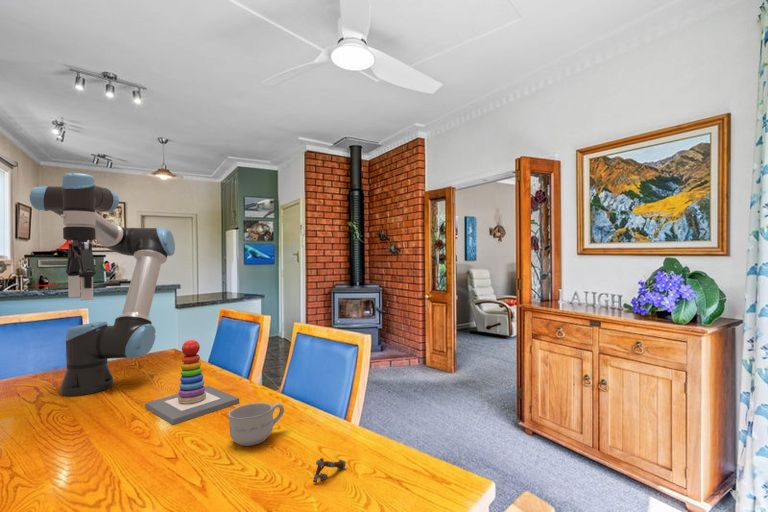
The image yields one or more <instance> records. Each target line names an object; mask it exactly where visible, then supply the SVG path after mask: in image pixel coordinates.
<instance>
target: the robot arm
mask: <svg viewBox="0 0 768 512" xmlns="http://www.w3.org/2000/svg"><path fill="white" fill-rule="evenodd" d="M61 184H62V185H61V186H53V185H52V186H50V185H44V186H36V187H33V188H32V189H31V191H30V194H29V202H30V204H31V207H33V208H34V209H35V210H37V211H45V212H49V211H50V212H53V213H55V214H56V215H58V216H59V217H60V218H62V220H63V221H62V224H63V225H64V227H63V228H62V237H63V240H65V241H66V240H67V241H72V242H71V243H68V244H67V246H68V252H67V259H66V260H67V261H66V262H67V263H66V270H65V273H66V275H67V277H68V278H67V282H68V283H67V284H68V286H67V287H68V289H67V290H68V293H67V294H68V298H69V299H70V298H78V297H79V298H80V301H90V300H91V301H93V300H94V276H95V275H96V273H97V272H96V267H95V266H96V265H95V261H94V254H93V247H92V246H93V244H92V242H91V241H95V240H96V242H97V243H98V244H99V245H100V246H103V247H104V248H106V249H107V250H110V251H112V252H115V253H117V254H120V255H123V256H129V257H133V258H134V259H135V260H136V261H135V266H134V269H133V273H132V277H131V279H130V283H129V287H128V291H127V294H126V298H125V301H124V304H123V308H122V312H121V315H119V316H117V317H116V318H115V320H114V324H113V325H109V324H108V322H107V321H103V320H102V321H96V322H90V323H85V324H80V325H76V326H72V327H70V328H68V329H67V330H66V335H65V341H64V342H65V352H66V353H65V354H66V355H65V357H66V359H65V360H66V364H65V365H66V370H65V374H64V376H63V379H62V382H61V384H60V388H59V394H60V395H61V396H63V397H65V396H66V397H76V396H78V397H79V396H85V395H90V394H95V393H99V392H102V391H106V390H108V389H110V388H112V387H113V386H114V384H115V383H114V375H113V374H112V372H111V369H110V366H109V364H108V359H112V360H113V359H135V358H142V357H144V356H146V355H147V354H149V353H150V352H151V350H152V349H153V346H154V344H155V342H156V329H155V328H156V327H155V326H154V325H153V324H152V323H153V322H152V320H151V319H150V318H149V315H150V313H151V308H152V304H153V300H154V296H155V291H156V287H157V283H158V279H159V274H160V271H161V265H162V264H164V263H166V262H167V258H168V257H171V256H174V254H175V251H176V243H175V238H174V235H173V233H172V232H171V230H170V229H168V228H167V227H158V226H157V227H125V226H120V225H119V224H116V223H112V222H110V221H109V220H107V219H106V218H105V217H103V216H101V215H100V214H99V213H98V212H101V213H104V212H105V213H109V212H113V211H114V210H116V209H117V208H118V207H119V204H120V199H119V196H118V193H116V192H115V191H114V190H111V189H109V188H107V187H102V186H97V185H96V180H95V178H94V176H93V175H91V174H87V173H78V172H68V173H67V172H66V173H64V174H63V176H62V183H61ZM96 211H97V212H96ZM89 241H90V242H89Z"/></svg>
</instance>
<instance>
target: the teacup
mask: <svg viewBox="0 0 768 512" xmlns="http://www.w3.org/2000/svg"><path fill="white" fill-rule="evenodd" d="M277 408H279V412H278V413H277V415H276V416H275V417H274V413H275V412H274V411H275V410H276V409H277ZM284 413H285V408H284V405H283V404H282V403H280V402H276V403H274V404H271V403H269V402H268V403H267V402H252V403H247V404H242V405H240V406H237V407H235V408H232V409H231V410H229V412H228V414H227V416H228V424H229V425H228V426H229V436H230V439H231V440H232V442H235V443H237V444H238V445H239V446H243V447H249V446H250V447H252V446H255V445H258V444H261V443H263V442H265V440H266V439H267V438H268V437H269V436H270V435H271V433H272V432H273V428H274V426H275V424H277V422H279V420H281V418H282V417H283V416H284Z"/></svg>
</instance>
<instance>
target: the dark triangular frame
mask: <svg viewBox="0 0 768 512" xmlns="http://www.w3.org/2000/svg"><path fill="white" fill-rule="evenodd" d="M315 464H316V465H317V467H316V470H315V473H314V475H313V479H312V482H313V483H315V484H316V483H317V482H318V479H319V480H321V481H323V480H326V479H327V478H328V474H327V473H322V472H321V471H322V470H323V469H324V468H325V467H326V468H337V469H339V470H340V471H345V468H346V464H347V461H345V460H343V459H342V458H341V459H339V460H338V461H332V460H331V461H330V460H326V461H325V460H324V458H323V457H322V458H320V459H317V460H316V461H315Z"/></svg>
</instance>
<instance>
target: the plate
mask: <svg viewBox="0 0 768 512" xmlns="http://www.w3.org/2000/svg"><path fill="white" fill-rule="evenodd" d="M204 387H205V391H204V392H206V397H205V398H204V399H203V400H201V401H199V402H195V403H190V404H184V403H180V402H179V401H178V397H179V394H178V393H177V394H173V395H169V396H166V397H162V398H158V399H154V400H150V401H147V402H144V403H145V404H144V408H145V409H147V410H148V411H150V412H151V413H153V414H155V415H156V416H158V417H160V418H161V419H162V420H164V421H166V422H168V423H169V424H171V425H173V426H174V425H177V424H180V423H182V422H183V423H184V422H186V421H188V420H192V419H195V418H198V417H201V416H204V415H208V414H210V413H214V412H216V411H219V410H222V409H226V408H229V407H231V406H235V405H237V404H240V398H239V397H237V396H234V395H232V394H230V393H227V392H225V391H223V390H220V389H218V388H215V387H214V386H211V385H206V386H205V385H204Z"/></svg>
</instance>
